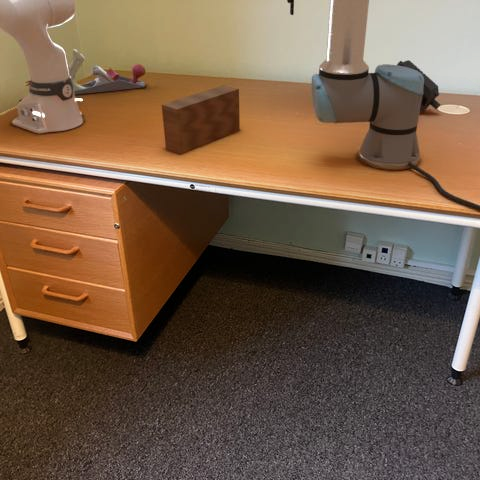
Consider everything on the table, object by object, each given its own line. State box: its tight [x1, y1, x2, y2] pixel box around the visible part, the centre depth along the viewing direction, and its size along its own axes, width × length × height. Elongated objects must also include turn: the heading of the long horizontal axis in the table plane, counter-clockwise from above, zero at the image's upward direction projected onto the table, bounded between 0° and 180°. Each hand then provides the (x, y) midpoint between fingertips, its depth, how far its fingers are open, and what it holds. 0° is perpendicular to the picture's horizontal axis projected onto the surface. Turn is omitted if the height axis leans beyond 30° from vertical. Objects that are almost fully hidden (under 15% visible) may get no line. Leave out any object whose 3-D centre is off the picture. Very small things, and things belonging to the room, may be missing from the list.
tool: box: [396, 59, 442, 114], centre depth 170 cm, size 6×19×15 cm, turn 51°
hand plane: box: [68, 48, 146, 95], centre depth 194 cm, size 7×31×15 cm, turn 107°
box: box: [161, 84, 241, 155], centre depth 150 cm, size 24×6×12 cm, turn 137°
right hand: (313, 13), depth 166 cm, fingers open, 13 cm apart
